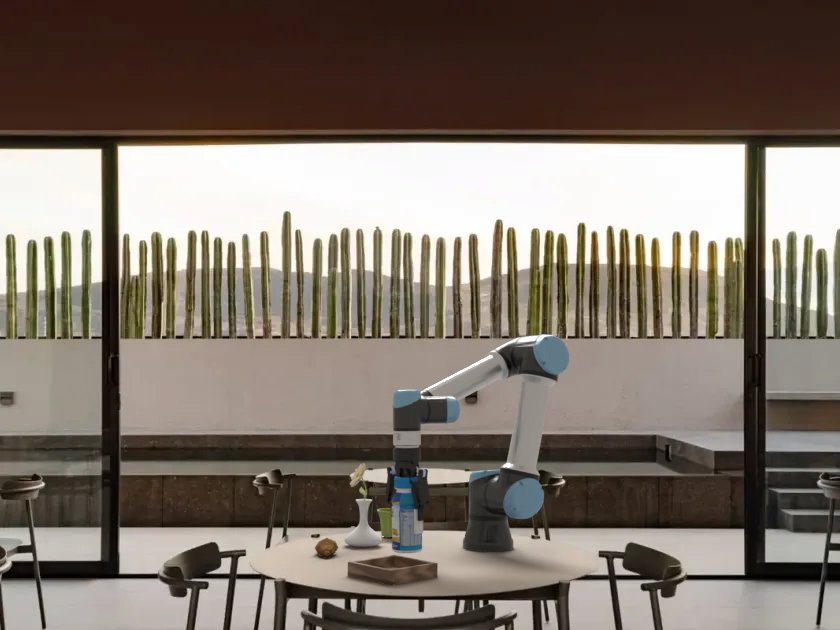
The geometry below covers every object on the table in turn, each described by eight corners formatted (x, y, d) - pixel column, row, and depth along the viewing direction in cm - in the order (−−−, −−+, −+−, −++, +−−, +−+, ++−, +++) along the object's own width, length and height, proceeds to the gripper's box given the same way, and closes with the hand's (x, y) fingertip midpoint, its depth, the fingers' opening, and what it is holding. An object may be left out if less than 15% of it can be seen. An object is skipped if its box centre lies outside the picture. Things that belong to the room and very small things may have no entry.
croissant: (339, 559, 268) (340, 541, 269) (315, 559, 267) (315, 541, 268) (337, 551, 282) (337, 534, 282) (313, 551, 281) (314, 534, 281)
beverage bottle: (413, 554, 255) (412, 478, 257) (385, 552, 259) (385, 477, 261) (428, 549, 263) (427, 475, 264) (401, 547, 267) (400, 474, 268)
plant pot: (393, 534, 315) (394, 507, 316) (412, 537, 308) (412, 510, 308) (370, 536, 309) (371, 509, 310) (389, 540, 302) (389, 512, 302)
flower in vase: (346, 543, 296) (347, 460, 298) (383, 543, 296) (384, 461, 298) (341, 550, 283) (342, 463, 285) (380, 550, 283) (381, 464, 285)
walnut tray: (394, 568, 255) (394, 554, 255) (437, 577, 243) (437, 563, 244) (347, 576, 244) (347, 561, 244) (390, 585, 232) (390, 570, 232)
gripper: (371, 445, 268) (371, 529, 266) (423, 449, 253) (424, 537, 251) (391, 444, 273) (391, 526, 271) (443, 447, 258) (444, 534, 256)
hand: (407, 531), depth 261 cm, fingers closed on beverage bottle, 8 cm apart
